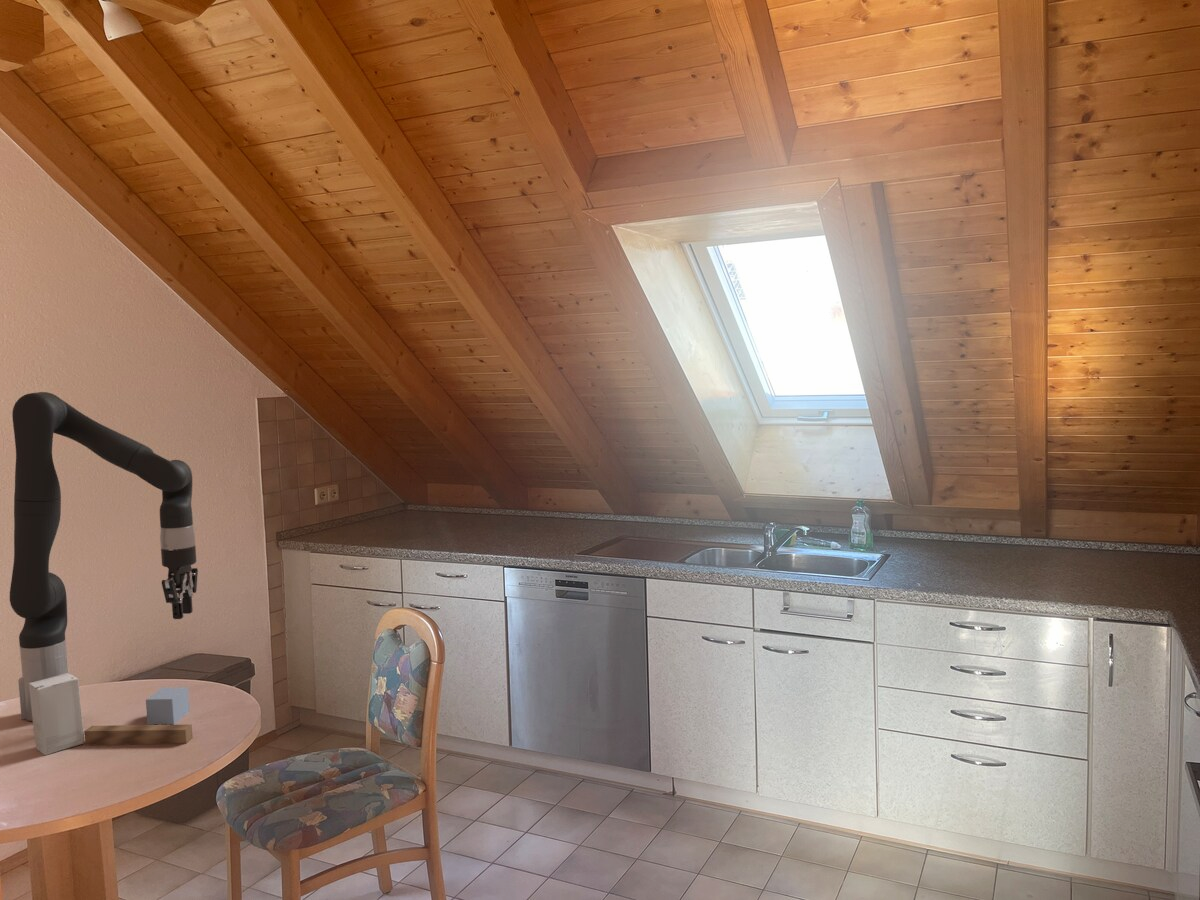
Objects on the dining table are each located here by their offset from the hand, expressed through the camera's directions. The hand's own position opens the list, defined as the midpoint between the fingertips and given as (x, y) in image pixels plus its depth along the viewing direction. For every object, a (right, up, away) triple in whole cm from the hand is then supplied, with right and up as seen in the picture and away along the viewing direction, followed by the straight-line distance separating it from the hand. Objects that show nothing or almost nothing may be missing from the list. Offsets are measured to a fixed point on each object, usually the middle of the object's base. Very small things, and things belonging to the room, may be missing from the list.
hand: (182, 615), depth 229 cm
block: (0, -22, -8) cm, 24 cm away
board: (0, -23, -21) cm, 32 cm away
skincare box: (-16, -24, -23) cm, 37 cm away
